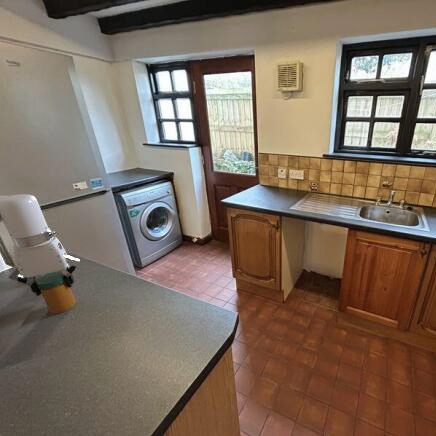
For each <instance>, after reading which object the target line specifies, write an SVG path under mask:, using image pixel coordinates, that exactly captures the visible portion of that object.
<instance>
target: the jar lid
mask: <svg viewBox="0 0 436 436" xmlns="http://www.w3.org/2000/svg"><path fill="white" fill-rule="evenodd" d="M64 277H65V275H64V274H62V273H61V272H60V271H57V272H52V273H48V274H45V275H43V276H42V275H40V276H39V277H37V278H36V279H37V280H36V284H37V287H38V288H39V289H49V288H53V287H56V286H58V285H60V284H62V283H64V282H65V279H64Z"/></svg>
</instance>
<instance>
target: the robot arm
mask: <svg viewBox="0 0 436 436" xmlns="http://www.w3.org/2000/svg"><path fill="white" fill-rule="evenodd" d="M1 222H3V224H4V226H5V228H6V230H7V232H8V235H9V236H10V238H11V240H12V243H13V244H14V245H13V246H12V252H13V253H12V254H13V257H14V261H15V264H16V268H14V269H13V271H11V273H10V274H9V275H8V279H9V280H13V281H17V282H18V283H21V284H25V285H26V286H28V287H30V290H31V292H32V293H33V294H35V295H36V296H37V297H38V296H42V294H41V292H40V290H39V288H38V287H37V284H36V280H37V279H38V278H36V277H40V276H42V275H44V274H48V273H52V272H57V271H60V272H61V273H62V274H64V275H65V277H64V279H65V281H66V284H67V286H68V287H69V288H72V287H73V284H74V283H75V279H74V276H73V273H74V271H75V270H76V269H77V267H78V266H79V265H80V263H81V259H80V258H76V257H73V256H71V255H68V253H67V251H66V249H65V248H64V246H63V245H62V243H61V241H60V240H59V239H58V238H57V235H58V231H57V230H51V228H50V227H49V226H48V223H47V221H46V219H45V216H44V213H43V211H42V208H41V206H40V204H39V202H38V200H37V198H36V197H35V196H34V195H32V194H24V193H23V194H13V195H0V223H1ZM67 263H68V264H69V263H71V265H70V266H69V267H68V266H67Z"/></svg>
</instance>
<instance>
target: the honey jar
mask: <svg viewBox="0 0 436 436" xmlns="http://www.w3.org/2000/svg"><path fill="white" fill-rule="evenodd" d="M71 288H72V287H70V288H69V287H68V286H67V284H66V281H65V282H64V283H62V284H60V285H58V286H56V287H53V288H49V289H39V290H40V292H41V296H42V299H43V300H44V303H45V305H46V307H47V309H48V311H49V313H50V314H52V315H59V314H62V313H65V312H67V311H70V309H73V307H74V306H75V305H76V304H77V301H76V298H75V296H74V294H73V290H72V289H71Z"/></svg>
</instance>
